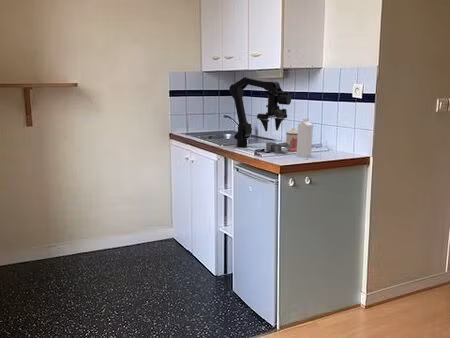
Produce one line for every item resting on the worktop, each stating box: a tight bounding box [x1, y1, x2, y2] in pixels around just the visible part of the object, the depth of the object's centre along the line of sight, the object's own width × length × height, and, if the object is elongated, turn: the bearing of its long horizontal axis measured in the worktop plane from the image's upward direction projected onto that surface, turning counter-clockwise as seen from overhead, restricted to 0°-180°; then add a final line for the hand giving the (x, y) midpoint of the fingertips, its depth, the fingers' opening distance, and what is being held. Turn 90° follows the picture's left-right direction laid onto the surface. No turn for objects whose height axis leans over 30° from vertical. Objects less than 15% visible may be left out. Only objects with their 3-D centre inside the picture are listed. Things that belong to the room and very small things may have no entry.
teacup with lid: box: [285, 127, 298, 146], centre depth 296 cm, size 12×9×12 cm
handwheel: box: [288, 138, 297, 153], centre depth 274 cm, size 12×9×7 cm
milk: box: [296, 118, 314, 160], centre depth 256 cm, size 6×6×22 cm
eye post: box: [274, 142, 289, 155], centre depth 265 cm, size 2×8×5 cm, turn 126°
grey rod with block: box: [265, 141, 288, 152], centre depth 268 cm, size 15×4×4 cm, turn 36°
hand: (271, 130), depth 270 cm, fingers open, 8 cm apart
